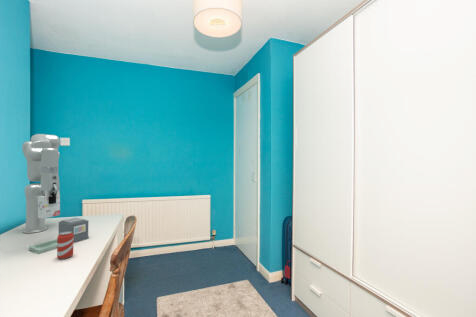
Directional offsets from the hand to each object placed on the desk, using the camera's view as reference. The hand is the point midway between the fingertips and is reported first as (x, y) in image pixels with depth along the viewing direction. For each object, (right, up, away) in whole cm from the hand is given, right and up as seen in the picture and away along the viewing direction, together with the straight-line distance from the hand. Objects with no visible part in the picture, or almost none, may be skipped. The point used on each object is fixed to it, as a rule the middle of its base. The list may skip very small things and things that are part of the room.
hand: (49, 202), depth 124 cm
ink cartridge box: (0, -8, 0) cm, 8 cm away
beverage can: (+19, -24, -13) cm, 34 cm away
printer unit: (+5, -24, +11) cm, 27 cm away
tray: (+1, -24, -1) cm, 24 cm away
